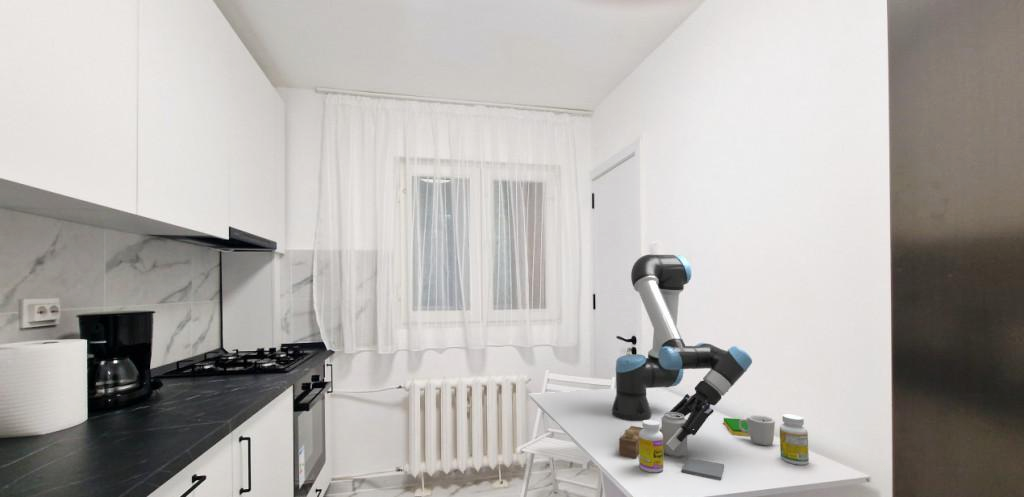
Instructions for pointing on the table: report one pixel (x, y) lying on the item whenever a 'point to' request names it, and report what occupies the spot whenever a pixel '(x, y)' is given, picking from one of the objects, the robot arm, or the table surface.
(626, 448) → the walnut block
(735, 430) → the dish sponge
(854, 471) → the table surface
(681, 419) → the can
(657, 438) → the supplement bottle
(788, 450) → the supplement bottle
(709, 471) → the trivet
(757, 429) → the cup
